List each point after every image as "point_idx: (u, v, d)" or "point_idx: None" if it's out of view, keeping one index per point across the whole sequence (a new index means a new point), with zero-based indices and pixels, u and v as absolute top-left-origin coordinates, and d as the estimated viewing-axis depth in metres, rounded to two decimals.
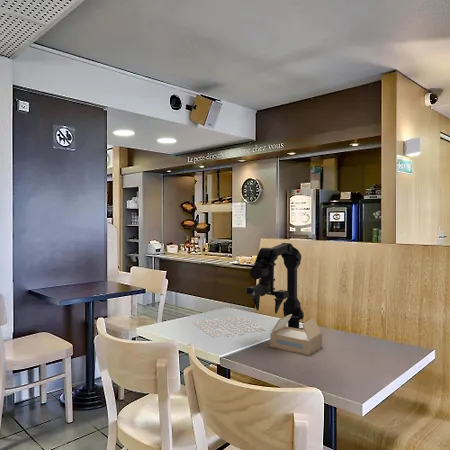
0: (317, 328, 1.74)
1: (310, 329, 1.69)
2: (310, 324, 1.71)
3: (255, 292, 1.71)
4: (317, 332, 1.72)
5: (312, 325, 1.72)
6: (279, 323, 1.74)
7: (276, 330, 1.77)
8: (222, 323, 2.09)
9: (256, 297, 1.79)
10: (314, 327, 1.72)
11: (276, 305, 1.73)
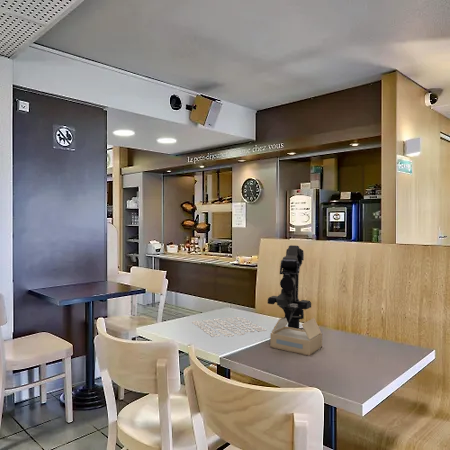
0: (317, 328, 1.74)
1: (310, 329, 1.69)
2: (310, 324, 1.71)
3: (278, 302, 1.71)
4: (317, 332, 1.72)
5: (312, 325, 1.72)
6: (279, 323, 1.74)
7: (276, 330, 1.77)
8: (222, 323, 2.09)
9: (286, 308, 1.76)
10: (314, 327, 1.72)
11: (289, 314, 1.75)
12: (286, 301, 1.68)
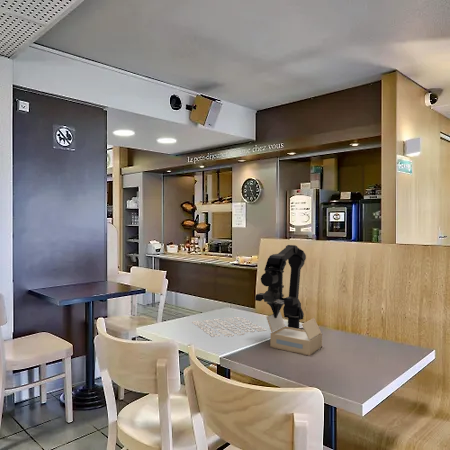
0: (317, 328, 1.74)
1: (310, 329, 1.69)
2: (310, 324, 1.71)
3: (265, 299, 1.74)
4: (317, 332, 1.72)
5: (312, 325, 1.72)
6: (270, 320, 1.77)
7: (276, 329, 1.77)
8: (222, 323, 2.09)
9: (274, 304, 1.80)
10: (314, 327, 1.72)
11: (276, 310, 1.79)
12: (272, 297, 1.72)
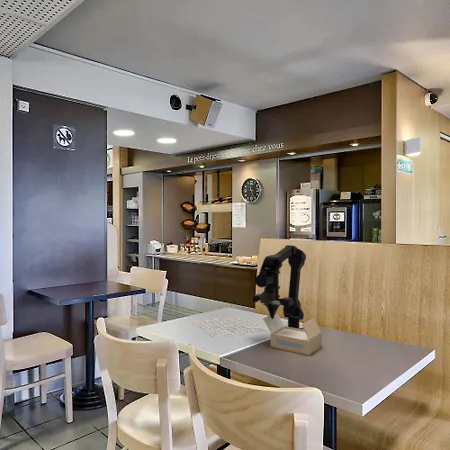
0: (317, 328, 1.74)
1: (310, 329, 1.69)
2: (310, 324, 1.71)
3: (261, 300, 1.75)
4: (317, 332, 1.72)
5: (312, 325, 1.72)
6: (268, 321, 1.77)
7: (275, 329, 1.77)
8: (222, 323, 2.09)
9: (270, 305, 1.81)
10: (314, 327, 1.72)
11: (272, 311, 1.80)
12: (268, 298, 1.73)
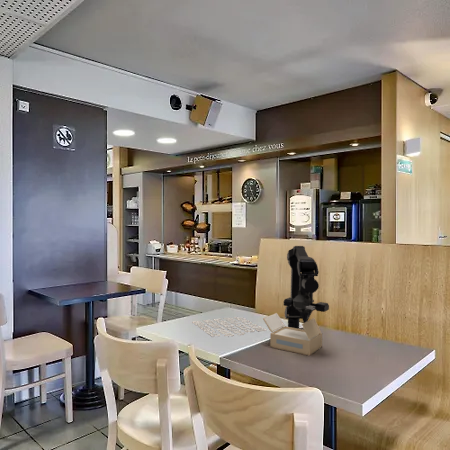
0: (317, 328, 1.74)
1: (310, 329, 1.69)
2: (310, 324, 1.71)
3: (295, 304, 1.66)
4: (317, 332, 1.72)
5: (312, 325, 1.72)
6: (268, 321, 1.77)
7: (275, 329, 1.77)
8: (222, 323, 2.09)
9: (303, 310, 1.72)
10: (314, 327, 1.72)
11: (306, 316, 1.71)
12: (303, 303, 1.64)
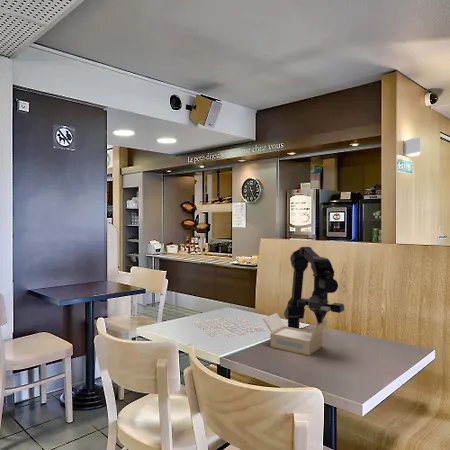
0: (322, 329, 1.73)
1: (317, 330, 1.67)
2: (321, 326, 1.68)
3: (310, 305, 1.62)
4: (319, 333, 1.72)
5: (321, 327, 1.70)
6: (268, 321, 1.77)
7: (275, 329, 1.77)
8: (222, 323, 2.09)
9: (318, 311, 1.68)
10: (321, 328, 1.71)
11: (320, 317, 1.67)
12: (319, 304, 1.60)
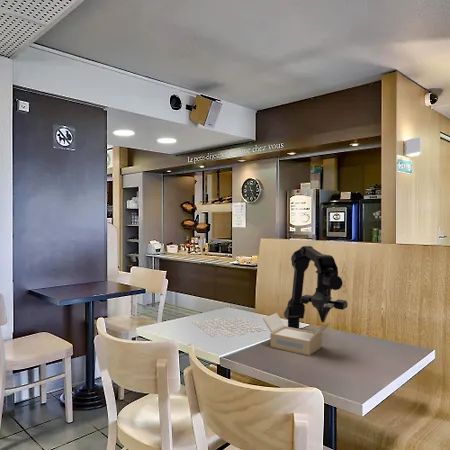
0: (323, 330, 1.72)
1: (319, 332, 1.67)
2: (323, 328, 1.68)
3: (313, 302, 1.63)
4: (319, 333, 1.72)
5: (323, 329, 1.69)
6: (268, 321, 1.77)
7: (275, 329, 1.77)
8: (222, 323, 2.09)
9: (321, 308, 1.69)
10: (322, 330, 1.70)
11: (324, 314, 1.67)
12: (322, 301, 1.60)
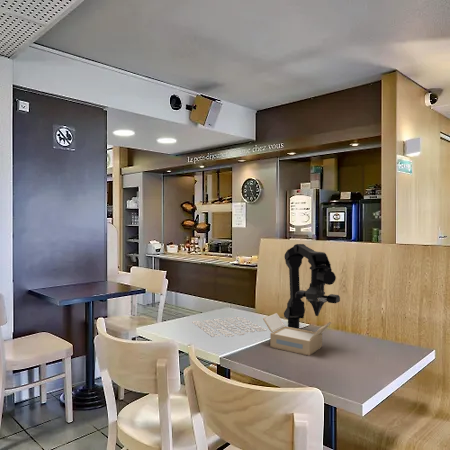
0: (323, 330, 1.72)
1: (319, 332, 1.67)
2: (323, 328, 1.68)
3: (307, 296, 1.72)
4: (319, 333, 1.72)
5: (323, 329, 1.69)
6: (268, 321, 1.77)
7: (275, 329, 1.77)
8: (222, 323, 2.09)
9: (315, 302, 1.77)
10: (322, 330, 1.70)
11: (318, 308, 1.76)
12: (316, 295, 1.69)
